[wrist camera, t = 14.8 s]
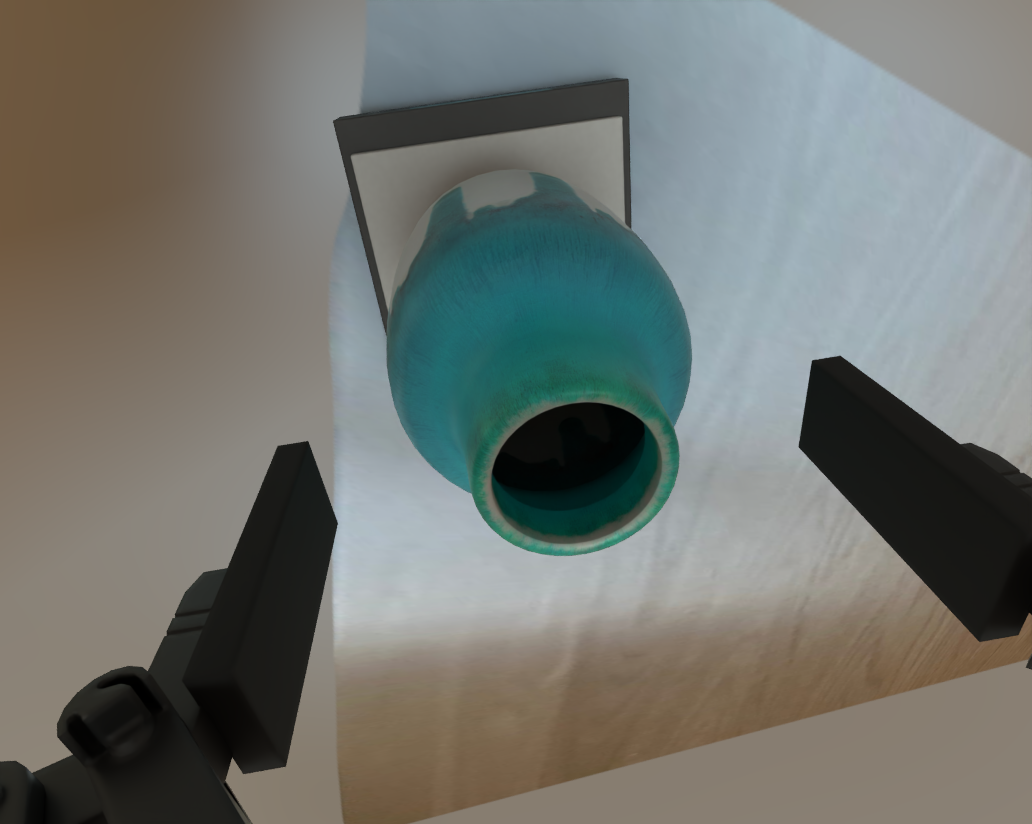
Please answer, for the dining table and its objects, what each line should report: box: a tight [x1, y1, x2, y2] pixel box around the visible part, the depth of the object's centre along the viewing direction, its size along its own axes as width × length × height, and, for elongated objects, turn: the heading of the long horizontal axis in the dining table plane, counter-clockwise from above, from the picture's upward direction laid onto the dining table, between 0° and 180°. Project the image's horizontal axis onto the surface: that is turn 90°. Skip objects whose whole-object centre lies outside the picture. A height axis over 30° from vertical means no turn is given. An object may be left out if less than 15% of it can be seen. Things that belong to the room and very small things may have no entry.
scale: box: [333, 78, 631, 336], centre depth 32 cm, size 15×14×3 cm
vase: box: [387, 169, 692, 556], centre depth 23 cm, size 11×11×19 cm
